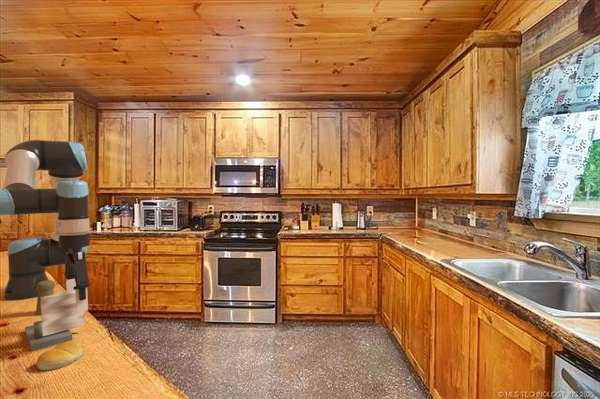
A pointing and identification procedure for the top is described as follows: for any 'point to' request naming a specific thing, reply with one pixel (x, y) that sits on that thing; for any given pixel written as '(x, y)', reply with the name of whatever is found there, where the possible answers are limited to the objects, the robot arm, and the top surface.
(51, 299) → the gate
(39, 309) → the olive mushroom
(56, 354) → the bread roll
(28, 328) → the board
